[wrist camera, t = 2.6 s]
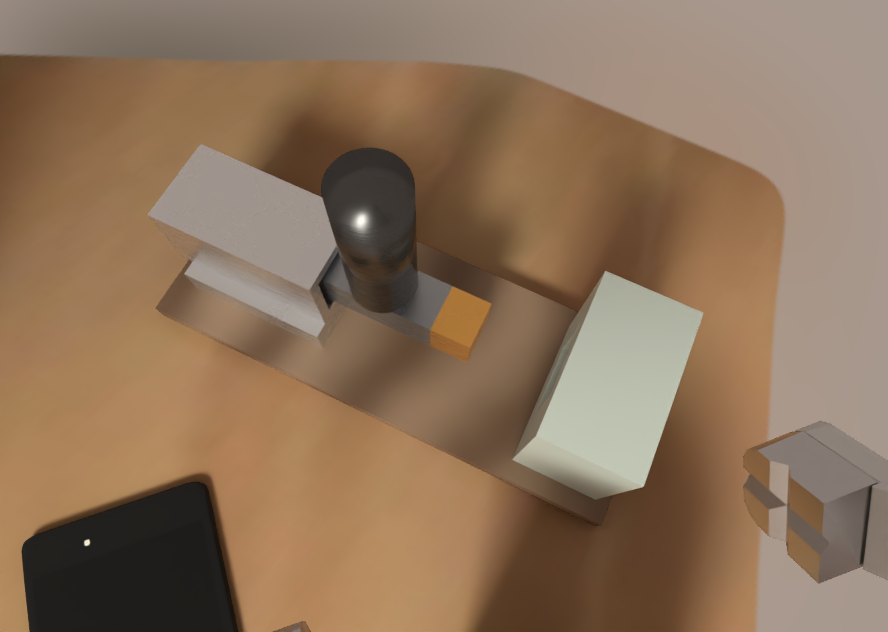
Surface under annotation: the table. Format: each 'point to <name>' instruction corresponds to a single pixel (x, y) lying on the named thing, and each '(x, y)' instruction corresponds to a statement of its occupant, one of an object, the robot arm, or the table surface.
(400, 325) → the slide bolt
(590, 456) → the socket
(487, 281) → the base board
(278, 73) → the table surface
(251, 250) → the sleeve
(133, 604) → the cell phone
